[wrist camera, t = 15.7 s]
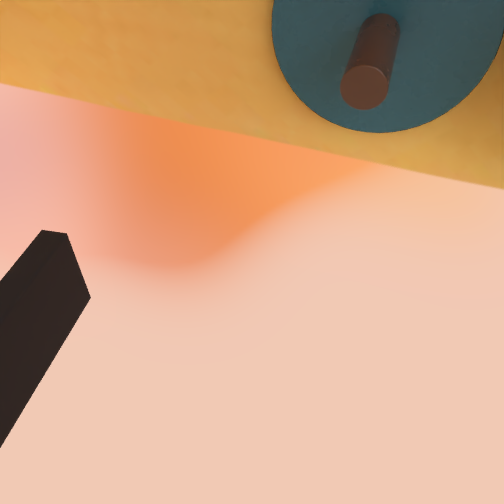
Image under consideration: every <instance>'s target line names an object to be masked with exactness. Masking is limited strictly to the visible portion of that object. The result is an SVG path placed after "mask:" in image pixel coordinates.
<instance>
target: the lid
mask: <svg viewBox="0 0 504 504" xmlns="http://www.w3.org/2000/svg"><path fill="white" fill-rule="evenodd" d="M503 32H504V0H274V4H273V11H272V37H273V44H274V49H275V54H276V57H277V60H278V63H279V66H280V69H281V71H282V73H283V75H284V77H285V79H286V81H287V82H288V84H289V85H290V87H291V88H292V90H293V91H294V92H295V94H296V95H297V96H298V97H299V98H300V100H301V101H303V102H304V103H305V104H306V105H307V106H308V107H309V108H310V109H311V110H313V111H314V112H315V113H317V114H318V115H319V116H321V117H323V118H325V119H326V120H328V121H330V122H332V123H335V124H337V125H339V126H342V127H345V128H348V129H352V130H356V131H362V132H372V133H385V132H396V131H402V130H407V129H410V128H414V127H417V126H420V125H422V124H425V123H427V122H430V121H432V120H434V119H436V118H437V117H439V116H441V115H443V114H445V113H446V112H448V111H449V110H450V109H452V108H453V107H455V106H456V105H457V104H458V103H460V102H461V101H462V100H463V99H464V98H465V97H466V96H467V95H468V94H469V93H470V92H471V91H472V90H473V89H474V88H475V87H476V86H477V84H478V83H479V82H480V81H481V79H482V78H483V76H484V75H485V73H486V72H487V71H488V69H489V67H490V65H491V63H492V62H493V60H494V58H495V56H496V53H497V51H498V48H499V46H500V43H501V41H502V36H503Z"/></svg>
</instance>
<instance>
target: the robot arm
mask: <svg viewBox="0 0 504 504" xmlns="http://www.w3.org/2000/svg"><path fill="white" fill-rule="evenodd" d="M90 298H91V297H90V294H89V292H88V289H87V286H86V284H85V281H84V278H83V276H82V273H81V270H80V268H79V265H78V262H77V260H76V257H75V254H74V252H73V249H72V246H71V244H70V241H69V239H68V236H67V233H60V232H52V231H45V230H41V232H40V233H39V234H38V235H37V237H36V238H35V239H34V240H33V241H32V243H31V244H30V245H29V247H28V248H27V249H26V250H25V251H24V253H23V254H22V255H21V256H20V257H19V259H18V260H17V261H16V262H15V264H14V265H13V266H12V267H11V269H10V270H9V271H8V272H7V273H6V275H5V276H4V277H3V278H2V280H1V281H0V448H1V446H2V444H3V443H4V441H5V439H6V437H7V436H8V434H9V433H10V431H11V429H12V428H13V426H14V424H15V423H16V421H17V419H18V418H19V416H20V414H21V413H22V411H23V409H24V408H25V406H26V404H27V403H28V401H29V399H30V398H31V396H32V394H33V393H34V391H35V389H36V388H37V386H38V384H39V383H40V381H41V380H42V378H43V376H44V375H45V372H46V371H47V369H48V368H49V366H50V365H51V363H52V361H53V360H54V358H55V356H56V355H57V353H58V351H59V350H60V348H61V346H62V345H63V343H64V341H65V340H66V338H67V336H68V335H69V333H70V331H71V330H72V328H73V326H74V325H75V323H76V321H77V320H78V318H79V316H80V315H81V313H82V311H83V310H84V308H85V306H86V305H87V303H88V301H89V300H90Z"/></svg>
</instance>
